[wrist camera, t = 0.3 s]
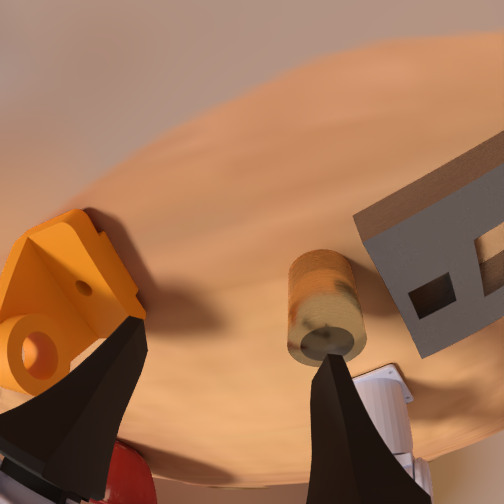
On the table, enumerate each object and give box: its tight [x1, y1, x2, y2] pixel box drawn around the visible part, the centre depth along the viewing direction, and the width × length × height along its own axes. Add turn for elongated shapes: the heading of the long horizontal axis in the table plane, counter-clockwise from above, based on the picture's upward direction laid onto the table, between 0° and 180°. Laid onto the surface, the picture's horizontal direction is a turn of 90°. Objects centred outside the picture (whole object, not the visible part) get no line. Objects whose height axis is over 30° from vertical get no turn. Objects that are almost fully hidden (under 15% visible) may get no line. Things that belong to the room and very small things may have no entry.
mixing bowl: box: [89, 440, 157, 504], centre depth 47 cm, size 28×28×16 cm
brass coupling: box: [287, 250, 367, 367], centre depth 19 cm, size 4×4×6 cm
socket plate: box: [353, 131, 504, 359], centre depth 17 cm, size 13×13×3 cm
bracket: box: [0, 209, 146, 397], centre depth 18 cm, size 11×7×12 cm, turn 17°
